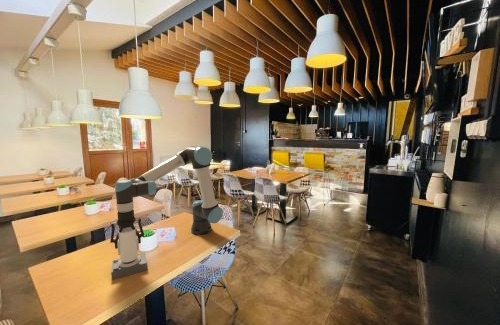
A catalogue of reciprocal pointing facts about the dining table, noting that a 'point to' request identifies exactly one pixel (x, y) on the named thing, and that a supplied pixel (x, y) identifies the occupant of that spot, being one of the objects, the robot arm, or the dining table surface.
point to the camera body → (128, 266)
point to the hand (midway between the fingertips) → (128, 251)
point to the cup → (128, 245)
